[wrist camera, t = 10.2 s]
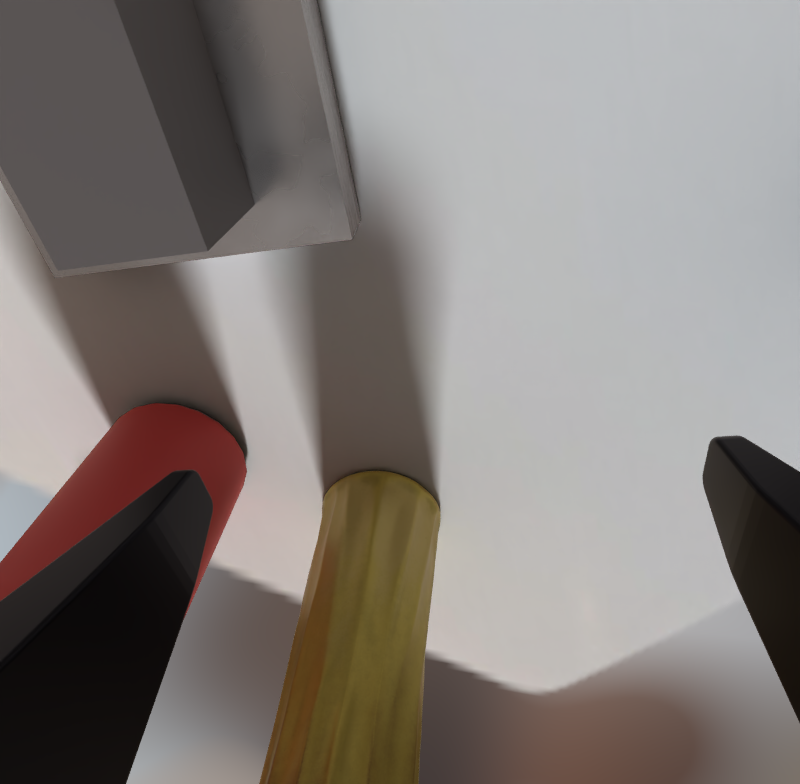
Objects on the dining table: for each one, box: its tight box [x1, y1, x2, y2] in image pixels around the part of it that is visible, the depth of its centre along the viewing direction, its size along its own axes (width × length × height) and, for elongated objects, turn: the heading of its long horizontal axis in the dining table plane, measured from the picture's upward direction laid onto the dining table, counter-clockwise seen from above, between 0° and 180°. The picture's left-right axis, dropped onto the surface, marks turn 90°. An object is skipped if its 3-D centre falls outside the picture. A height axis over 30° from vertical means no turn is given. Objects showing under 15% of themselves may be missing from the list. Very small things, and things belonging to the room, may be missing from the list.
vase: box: [259, 471, 440, 784], centre depth 22 cm, size 6×6×14 cm
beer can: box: [0, 403, 247, 618], centre depth 22 cm, size 7×7×12 cm
